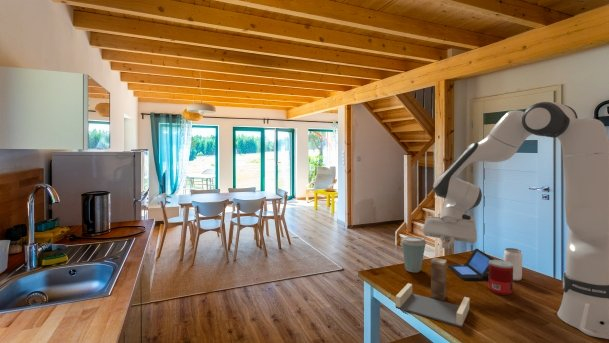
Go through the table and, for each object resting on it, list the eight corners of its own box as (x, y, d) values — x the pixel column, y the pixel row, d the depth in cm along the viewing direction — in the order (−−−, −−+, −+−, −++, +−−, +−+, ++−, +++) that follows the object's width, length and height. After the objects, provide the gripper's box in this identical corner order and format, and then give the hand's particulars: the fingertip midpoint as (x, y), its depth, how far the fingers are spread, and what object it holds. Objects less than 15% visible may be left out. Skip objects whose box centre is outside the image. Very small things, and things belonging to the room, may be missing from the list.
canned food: (516, 296, 116) (517, 267, 115) (492, 294, 118) (493, 265, 117) (507, 287, 123) (508, 260, 123) (485, 285, 125) (485, 258, 124)
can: (524, 281, 129) (525, 252, 128) (507, 280, 130) (508, 252, 129) (517, 275, 135) (517, 248, 134) (500, 274, 136) (501, 247, 135)
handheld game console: (446, 267, 146) (447, 247, 145) (475, 267, 145) (476, 247, 145) (462, 281, 130) (463, 259, 130) (495, 281, 130) (496, 259, 129)
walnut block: (446, 296, 116) (446, 259, 116) (443, 300, 113) (444, 263, 112) (433, 293, 119) (434, 257, 118) (430, 297, 116) (431, 260, 115)
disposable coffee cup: (396, 269, 143) (396, 237, 142) (410, 263, 150) (410, 233, 149) (416, 276, 135) (417, 242, 134) (430, 270, 142) (430, 238, 141)
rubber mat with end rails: (469, 310, 106) (469, 298, 106) (461, 327, 96) (462, 314, 96) (408, 293, 119) (408, 283, 119) (395, 307, 109) (395, 296, 108)
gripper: (425, 211, 136) (417, 239, 129) (478, 217, 123) (473, 248, 116) (427, 219, 139) (420, 246, 132) (479, 226, 127) (474, 256, 120)
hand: (445, 247), depth 124 cm, fingers closed
